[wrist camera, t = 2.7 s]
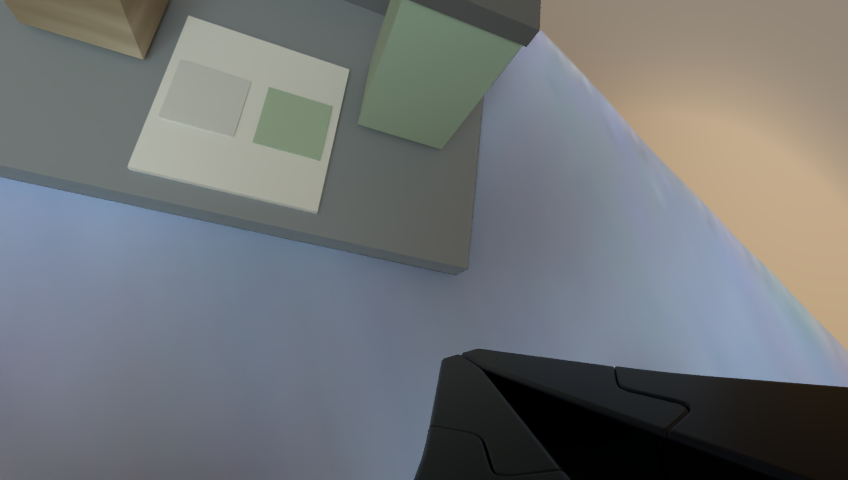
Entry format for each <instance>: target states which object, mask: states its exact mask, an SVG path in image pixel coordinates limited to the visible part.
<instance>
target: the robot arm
mask: <svg viewBox="0 0 848 480" xmlns="http://www.w3.org/2000/svg"><path fill="white" fill-rule="evenodd" d="M414 480H848V387H837V386H825V385H812V384H800V383H787V382H775V381H763V380H750V379H738V378H725V377H713V376H700V375H690V374H679V373H668V372H659V371H650V370H642V369H633V368H626V367H618V366H617V367H615V369H614V367H612V366H605V365H597V364H590V363H582V362H575V361H567V360H560V359H552V358H545V357H537V356H530V355H522V354H515V353H507V352H500V351H492V350H485V349H475V350H471V351H468V352H464V353H463V354H462V355H454V356H451V357H447V358H444V359H443V360H442V362H441V367H440V373H439V378H438V384H437V389H436V394H435V400H434V405H433V411H432V416H431V421H430V427H429V430H428V435H427V440H426V444H425V448H424V452H423V456H422V459H421V462H420V464H419V467H418V470H417V473H416V475H415V478H414Z"/></svg>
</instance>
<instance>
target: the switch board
mask: <svg viewBox="0 0 848 480" xmlns="http://www.w3.org/2000/svg"><path fill="white" fill-rule="evenodd" d="M389 3H390V0H169V1H168V4H167V6H166V8H165V11H164V13H163V15H162V18H161V20H160V22H159V25H158V27H157V29H156V32H155V34H154V36H153V39H152V41H151V43H150V46H149V48H148V50H147V53H146V55H145V57H144V60H143V59H139V58H136V57H133V56H130V55H126V54H123V53H120V52H116V51H113V50H110V49H106V48H103V47H100V46H96V45H93V44H90V43H86V42H83V41H80V40H76V39H73V38H70V37H66V36H63V35H60V34H56V33H53V32H50V31H47V30H43V29H40V28H37V27H33V26H30V25H27V24H23V23H20V22H19V21H18V20H17V18H16V17H15V16H14V14H13V13H12V11H11V10H10V9H9V7H8V6H7V4H6V3H5V2H4V0H0V177H4V178H8V179H13V180H17V181H22V182H27V183H31V184H36V185H41V186H45V187H50V188H55V189H59V190H64V191H68V192H73V193H78V194H82V195H87V196H92V197H96V198H101V199H106V200H110V201H115V202H120V203H124V204H129V205H133V206H138V207H143V208H147V209H152V210H157V211H161V212H166V213H171V214H175V215H180V216H185V217H189V218H194V219H198V220H203V221H208V222H212V223H217V224H222V225H226V226H231V227H236V228H240V229H245V230H249V231H254V232H259V233H263V234H268V235H273V236H277V237H282V238H287V239H291V240H296V241H301V242H305V243H310V244H314V245H319V246H324V247H328V248H333V249H338V250H342V251H347V252H352V253H356V254H361V255H366V256H370V257H375V258H379V259H384V260H389V261H393V262H398V263H403V264H407V265H412V266H417V267H421V268H426V269H430V270H435V271H440V272H444V273H449V274H454V275H457V274H459V273H461V272H463V271H465V270H467V269H468V262H469V251H470V240H471V229H472V218H473V207H474V196H475V186H476V175H477V164H478V153H479V142H480V131H481V120H482V109H483V98H484V96H483V97H482V98H481V99H480V101H479V102H478V103H477V105H476V106H475V107H474V108H473V110H472V111H471V112H470V113H469V115H468V116H467V117H466V119H465V120H464V121H463V122H462V124H461V125H460V126H459V128H458V129H457V130H456V131H455V133H454V134H453V135H452V137H451V138H450V139H449V140H448V142H447V143H446V144H445V145H444V147H443V148H442V149H438V148H435V147H431V146H428V145H425V144H421V143H418V142H415V141H411V140H408V139H405V138H401V137H398V136H395V135H391V134H388V133H385V132H381V131H378V130H375V129H372V128H368V127H365V126H362V125H358V119H359V114H360V109H361V104H362V100H363V95H364V90H365V85H366V80H367V75H368V70H369V66H370V61H371V58H372V54H373V51H374V48H375V45H376V42H377V39H378V36H379V33H380V30H381V27H382V24H383V21H384V18H385V15H386V12H387V9H388V6H389Z"/></svg>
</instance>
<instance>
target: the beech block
mask: <svg viewBox="0 0 848 480" xmlns="http://www.w3.org/2000/svg"><path fill="white" fill-rule="evenodd" d="M168 1H169V0H4V2H5V3H6V4H7V6H8V7H9V9H10V10H11V11H12V13H13V14H14V16H15V17H16V18H17V20H18V21H19V22H20V23H23V24H27V25H30V26H33V27H37V28H40V29H43V30H47V31H50V32H53V33H56V34H60V35H63V36H66V37H70V38H73V39H76V40H80V41H83V42H86V43H90V44H93V45H96V46H100V47H103V48H106V49H110V50H113V51H116V52H120V53H123V54H126V55H130V56H133V57H136V58H139V59H143V60H144V57H145V55H146V53H147V50H148V48H149V46H150V43H151V41H152V39H153V36H154V34H155V32H156V29H157V27H158V25H159V22H160V20H161V18H162V15H163V13H164V11H165V8H166V6H167V4H168Z"/></svg>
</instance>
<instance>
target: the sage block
mask: <svg viewBox="0 0 848 480" xmlns="http://www.w3.org/2000/svg"><path fill="white" fill-rule="evenodd" d="M540 4H541V0H390V3H389V6H388V9H387V12H386V15H385V18H384V21H383V24H382V27H381V30H380V33H379V36H378V39H377V42H376V45H375V48H374V51H373V54H372V58H371V61H370V66H369V70H368V75H367V80H366V85H365V90H364V95H363V100H362V104H361V109H360V114H359V119H358V125H362V126H365V127H368V128H372V129H375V130H378V131H381V132H385V133H388V134H391V135H395V136H398V137H401V138H405V139H408V140H411V141H415V142H418V143H421V144H425V145H428V146H431V147H435V148H438V149H442V148H443V147H444V145H445V144H446V143H447V142H448V140H449V139H450V138H451V137H452V135H453V134H454V133H455V131H456V130H457V129H458V128H459V126H460V125H461V124H462V122H463V121H464V120H465V119H466V117H467V116H468V115H469V113H470V112H471V111H472V110H473V108H474V107H475V106H476V105H477V103H478V102H479V101H480V99H481V98H482V97H483V96H484V94H485V93H486V92H487V90H488V89H489V88H490V87H491V85H492V84H493V83H494V81H495V80H496V79H497V78H498V76H499V75H500V74H501V73H502V71H503V70H504V69H505V67H506V66H507V65H508V64H509V62H510V61H511V60H512V58H513V57H514V56H515V55H516V53H517V52H518V51H519V49H520V48H521V47H522V46H526V47H527V45H528V44H529V43H530V42H531V40H532V39H533V38H534V37H535V35H536V34H537V33H538V32H539V29H540Z"/></svg>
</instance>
